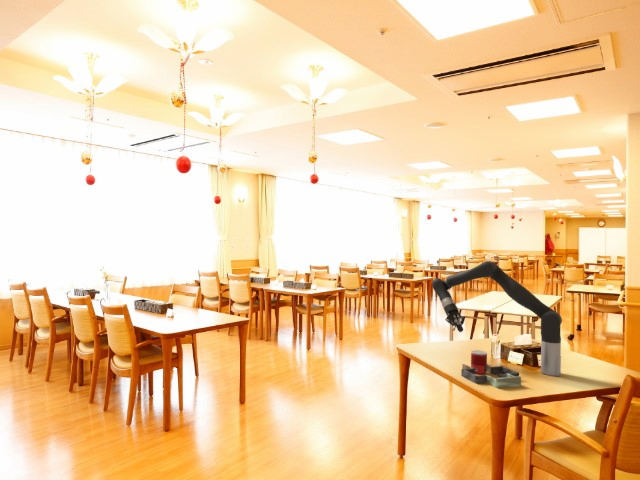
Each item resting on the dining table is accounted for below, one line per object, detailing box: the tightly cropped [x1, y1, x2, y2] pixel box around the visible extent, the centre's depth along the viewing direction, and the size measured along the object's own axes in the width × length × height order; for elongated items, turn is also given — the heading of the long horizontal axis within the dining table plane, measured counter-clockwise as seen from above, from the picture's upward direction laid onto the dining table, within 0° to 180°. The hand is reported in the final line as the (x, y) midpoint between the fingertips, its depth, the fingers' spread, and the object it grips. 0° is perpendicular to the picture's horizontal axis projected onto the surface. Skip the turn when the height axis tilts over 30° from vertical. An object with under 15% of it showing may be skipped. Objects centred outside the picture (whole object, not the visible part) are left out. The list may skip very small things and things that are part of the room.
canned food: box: [470, 349, 488, 376], centre depth 227 cm, size 8×8×11 cm
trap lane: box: [460, 363, 522, 389], centre depth 218 cm, size 28×25×4 cm
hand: (461, 331), depth 242 cm, fingers closed
